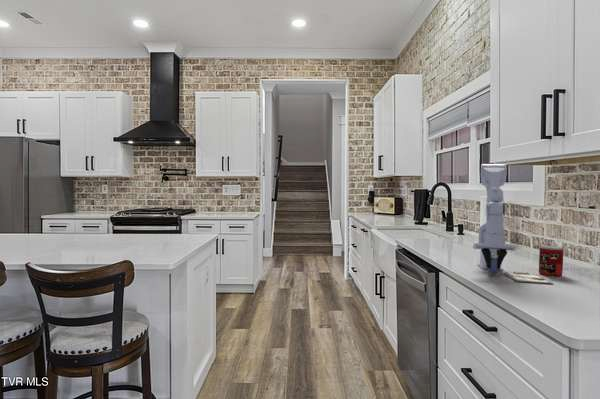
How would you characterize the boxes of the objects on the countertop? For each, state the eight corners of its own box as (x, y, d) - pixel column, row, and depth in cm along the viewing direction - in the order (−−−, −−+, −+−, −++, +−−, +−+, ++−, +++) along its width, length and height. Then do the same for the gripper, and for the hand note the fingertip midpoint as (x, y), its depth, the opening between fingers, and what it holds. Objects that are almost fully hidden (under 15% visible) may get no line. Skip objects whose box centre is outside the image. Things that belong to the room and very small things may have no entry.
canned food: (534, 273, 156) (535, 245, 156) (548, 272, 159) (549, 245, 159) (552, 277, 149) (553, 248, 149) (567, 276, 152) (568, 248, 152)
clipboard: (503, 273, 154) (503, 271, 154) (537, 275, 152) (537, 273, 152) (516, 282, 140) (516, 279, 140) (553, 284, 138) (553, 281, 138)
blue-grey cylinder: (487, 271, 153) (488, 253, 153) (496, 272, 152) (496, 254, 152) (489, 273, 150) (490, 255, 149) (498, 274, 149) (499, 255, 149)
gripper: (476, 233, 148) (475, 269, 148) (518, 235, 145) (517, 271, 146) (472, 231, 155) (471, 265, 155) (512, 233, 152) (511, 267, 152)
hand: (493, 268), depth 151 cm, fingers closed on blue-grey cylinder, 3 cm apart
